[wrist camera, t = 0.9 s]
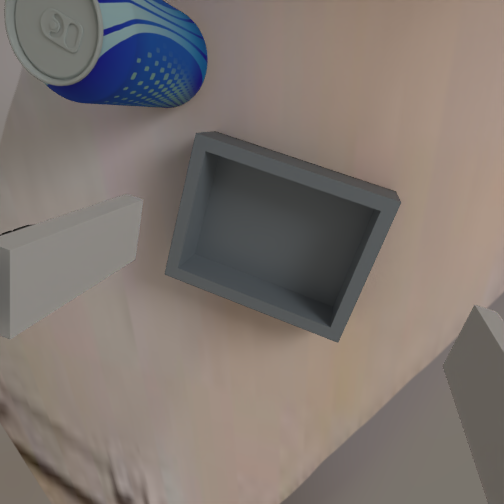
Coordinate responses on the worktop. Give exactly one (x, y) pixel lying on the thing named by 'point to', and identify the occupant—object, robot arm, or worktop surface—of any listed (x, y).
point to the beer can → (109, 50)
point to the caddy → (278, 232)
